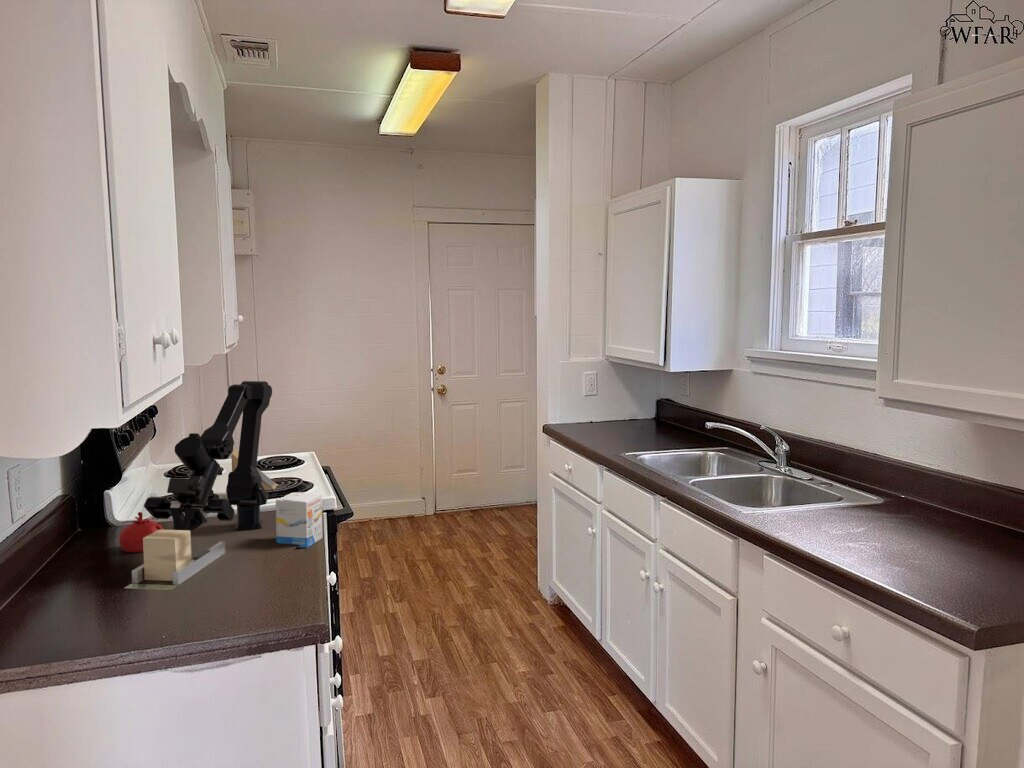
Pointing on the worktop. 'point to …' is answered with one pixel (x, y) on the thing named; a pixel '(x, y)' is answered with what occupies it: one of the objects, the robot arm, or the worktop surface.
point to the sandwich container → (266, 481)
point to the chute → (180, 569)
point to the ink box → (299, 519)
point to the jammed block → (165, 553)
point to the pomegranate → (137, 533)
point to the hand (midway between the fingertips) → (176, 542)
